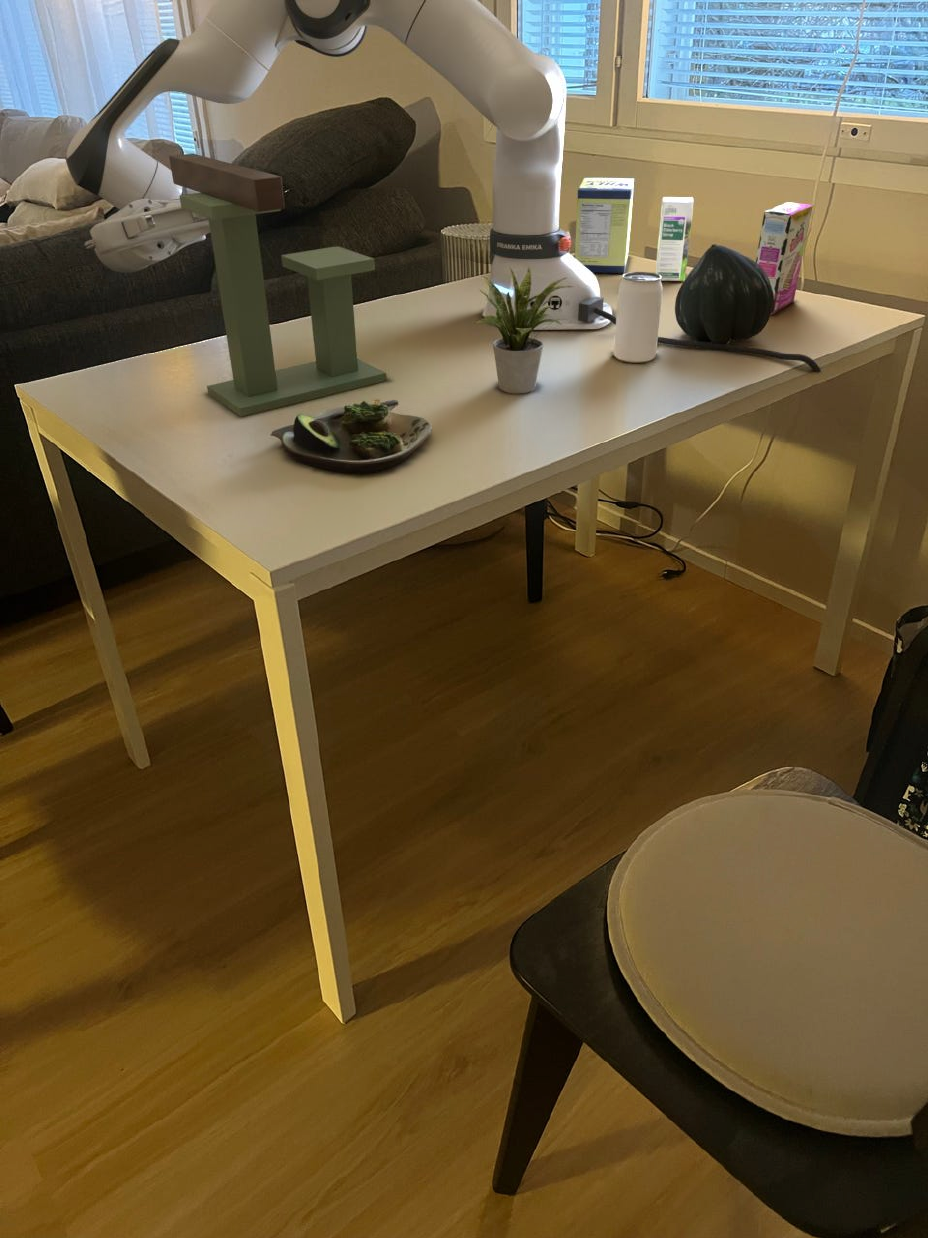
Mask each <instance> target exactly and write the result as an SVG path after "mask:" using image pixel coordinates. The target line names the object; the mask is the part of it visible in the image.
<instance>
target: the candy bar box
mask: <svg viewBox="0 0 928 1238" xmlns="http://www.w3.org/2000/svg"><path fill="white" fill-rule="evenodd" d="M813 207H814V205H813V204H808V203H807V204H806V203H798V202H788V201H787V202H784V203H782V204H779V205H777V206H775V207H771V208H770V209H767V210H764V211H763V215H762V216H763V217H762V223H761V229H760V234H759V239H758V240H759V241H758V246H757V251H756V257H755V262H756V263H757V264H758V265H759V266H760V267H761V268H762V269H763V270H764V271H765V273H766V274H767V276H768V278H769V280H770V284H771V286H772V290H773V294H774V302H773V308H772V312H771V316H772V315H774V314H775V313H777V312H778V311H781V309H783V308H785V307H786V306H788V305H790V304H791V303H792V302H794V301H795V296H796V292H797V287H798V283H799V276H800V271H801V266H802V262H803V256H804V251H805V248H806V247H805V246H806V241H807V237H808V233H809V228H810V222H811V217H812V213H813V212H812V211H813Z"/></svg>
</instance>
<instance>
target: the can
mask: <svg viewBox="0 0 928 1238" xmlns="http://www.w3.org/2000/svg"><path fill="white" fill-rule="evenodd" d="M660 279H661V276H660V275H658V274H656V273H655V272H652V271H630V272H626V273H623V274H622V280H621V281H620V283H619V285H618V292H617V293H618V294H617V304H616V316H615V317H616V325H615V328H614V329H615V330H614V340H613V342H614V343H613V356H614V357H615V359H617V360H618V361H621V362H623V363H631V364H644V363H648V362H651V361H653V360H654V358H656V356H657V348H658V343H657V341H658V337H659V332H660V320H661V312H662V301H663V292H664V291H663V290H664V289H663V284H662V281H661V280H660Z"/></svg>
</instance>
